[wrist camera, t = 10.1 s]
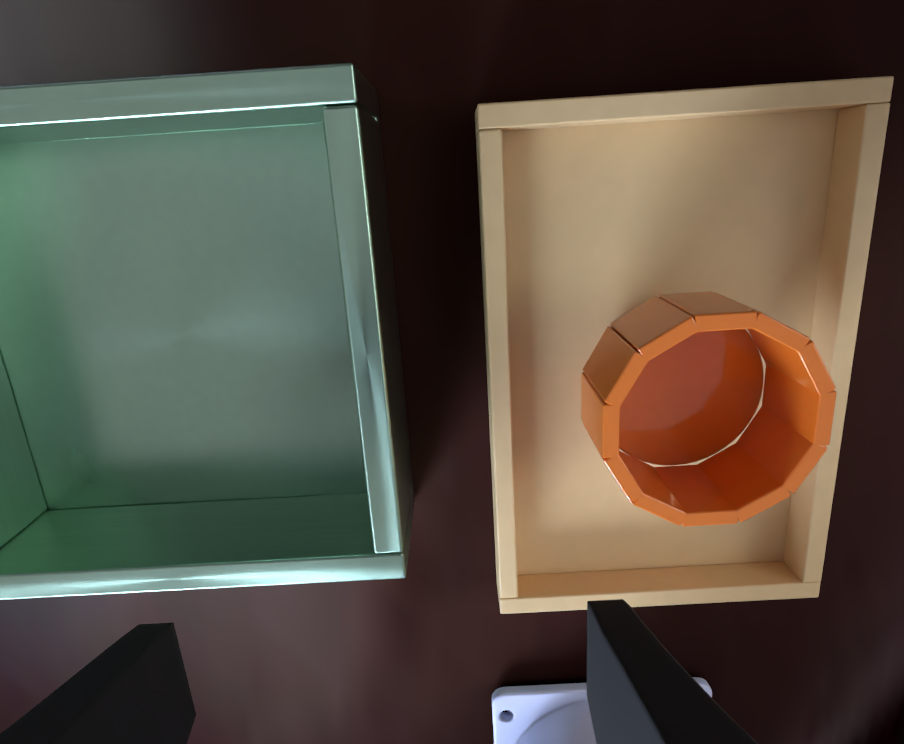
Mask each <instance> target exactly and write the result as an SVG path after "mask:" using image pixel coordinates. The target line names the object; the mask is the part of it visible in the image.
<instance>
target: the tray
mask: <svg viewBox="0 0 904 744" xmlns="http://www.w3.org/2000/svg"><path fill="white" fill-rule="evenodd" d="M893 80H894V77H893V76H881V77H867V78H852V79H837V80H822V81H807V82H793V83H778V84H763V85H748V86H733V87H719V88H704V89H689V90H674V91H660V92H645V93H630V94H615V95H600V96H586V97H571V98H556V99H541V100H526V101H512V102H497V103H482V104H478V105H477V108H476V111H475V129H476V150H477V172H478V193H479V214H480V236H481V257H482V278H483V300H484V321H485V342H486V363H487V385H488V406H489V427H490V449H491V470H492V491H493V513H494V534H495V555H496V577H497V588H498V597H499V606H500V612H501V614H509V613H528V612H547V611H566V610H585V609H587V601H597V600H617V599H623V600H624V601H626V602H627V603H628V604H629V605H630V606H631V607H643V606H662V605H681V604H700V603H719V602H739V601H758V600H777V599H796V598H815V597H818V596H819V590H820V581H821V577H822V570H823V563H824V556H825V549H826V542H827V535H828V529H829V522H830V515H831V508H832V501H833V494H834V487H835V480H836V474H837V467H838V460H839V453H840V446H841V439H842V432H843V425H844V419H845V412H846V405H847V398H848V391H849V384H850V377H851V370H852V364H853V357H854V350H855V343H856V336H857V329H858V322H859V315H860V309H861V302H862V295H863V288H864V281H865V274H866V267H867V260H868V253H869V247H870V240H871V233H872V226H873V219H874V212H875V205H876V198H877V192H878V185H879V178H880V171H881V164H882V157H883V150H884V143H885V137H886V130H887V123H888V116H889V109H890V103H888V102H889V101H890V100H891V94H892V87H893ZM708 291H710V292H713V293H714V292H715V293H718V294H720V295H723V296H725V297H727V298H730V299H732V300H734V301H737V302H739V303H741V304H744V305H746V306H748V307H751V308H753V309H756V310H758V311H760V312H762V313H764V314H766V315H768V316H770V317H772V318H774V319H776V320H777V321H779V322H781V323H783V324H785V325H787V326H789V327H791V328H793V329H794V330H796V331H798V332H800V333H802V334H804V335H806V336H808V337H809V338H810V340H812V341H813V342H814V344H815V346H816V348H817V350H818V352H819V354H820V356H821V358H822V360H823V362H824V364H825V366H826V368H827V370H828V372H829V374H830V376H831V378H832V380H833V382H834V384H835V386H836V389H835V391H836V392H837V394H836V402H835V409H834V416H833V423H832V430H831V438H830V444H829V445H825V446H826V447H827V448H828V449H827V450H826V452H825V453H824V454H823V456H822V457H821V458H820V460H819V461H818V462H817V464H816V465H815V466H814V468H813V469H812V470H811V472H810V473H809V474H808V476H807V477H806V478H805V480H804V481H803V482H802V484H801V485H800V486H799V488H798V489H797V490H796V492H795V493H791V492H790V494H791V496H790V497H788V498H787V499H785V500H783V501H781V502H779V503H777V504H775V505H773V506H772V507H770V508H768V509H766V510H764V511H762V512H760V513H758V514H756V515H755V516H753V517H751V518H749V519H747V520H745V521H743V522H739V521H738V523H737V524H723V525H705V526H687V527H684V526H682V525H680V526H678V525H676V524H674V523H672V522H669V521H667V520H665V519H663V518H661V517H659V516H656V515H654V514H652V513H650V512H648V511H646V510H643V509H641V508H639V507H637V506H635V505H633V504H632V502H630V501H629V500H628V499H627V497H626V495H625V494H624V492H623V491H622V489H621V488H620V486H619V485H618V483H617V482H616V480H615V478H614V477H613V475H612V474H611V472H610V471H609V469H608V468H607V466H606V465H605V463H604V461H603V460H602V458H601V456H600V454H599V452H598V450H597V448H596V447H595V445H594V443H593V441H592V439H591V437H590V436H589V434H588V432H587V430H586V428H585V426H584V424H583V422H582V421H583V420H582V419H581V374H582V372H584V371H583V367H584V366H585V364H586V362H587V361H588V359H589V357H590V356H591V354H592V352H593V350H594V349H595V347H596V345H597V344H598V342H599V340H600V339H601V337H602V335H603V333H604V332H605V330H606V328H607V327H608V326H610V327H611V323H612V322H614V321H615V320H617V319H619V318H620V317H622V316H623V315H625V314H627V313H628V312H630V311H632V310H633V309H635V308H636V307H638V306H640V305H641V304H643V303H645V302H646V301H648V300H649V299H651V298H653V297H654V296H657V297H658V296H659V295H660V294H676V293H692V292H708ZM746 330H747V332H748V333H749V331H748V329H746ZM749 334H750V333H749ZM750 335H751V334H750ZM751 337H752V336H751ZM759 352H760V351H759ZM760 355H761V353H760ZM761 359H762V363H763V371H764V379H765V369H766V363H765V361H764V359H763V357H762V355H761ZM763 389H764V384H763ZM762 399H763V390H762V396H761V399H760V402H759V405H758V407H757V410H756V412H755V414H754V416H755V415H756V414H757V412H758V411H759V409H760V408H761V406H762ZM754 416H753V418H754ZM753 418H752V419H753ZM752 419H751V421H752ZM751 421H750V422H751ZM750 422H749V424H750ZM749 424H748V425H749ZM748 425H747V426H748ZM746 428H747V427H746ZM746 428H745V429H746ZM745 429H744V430H743V432H744V431H745ZM743 432H742V433H741V434H740V435H739V436H738V437H737V438H736V439H735V440H734V441H733V442H731V443H730V444H729V445H728V446H726V447H725V448H724V449H726V448H728V447H729V446H731V445H733V444H735V443H736V442H737V441H738V439H739V438H740V437H741V435H742V434H743ZM724 449H722V450H724ZM722 450H720V451H722ZM619 451H621V452H623V451H622V450H620V449H619ZM720 451H719V452H720ZM719 452H717V453H719ZM623 453H624V452H623ZM717 453H716V454H717ZM625 454H626V453H625ZM627 455H628V454H627ZM714 455H715V454H714ZM711 456H713V455H711ZM711 456H709V457H707V458H705V459H702V460H699V461H697V462H693V463H688V464H683V465H697V464H699V463H701V462H702V461H704V460H706V459H708V458H710V457H711ZM642 462H643V461H642ZM644 463H646V464H649V465H651V466H653V467H663V466H680V465H657V464H651V463H647V462H644Z"/></svg>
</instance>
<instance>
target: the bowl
mask: <svg viewBox="0 0 904 744" xmlns="http://www.w3.org/2000/svg"><path fill="white" fill-rule="evenodd" d="M746 329H748V331H749V333H750V334H751V335H750V334H749V333H748V332H747V330H746ZM751 336H752V337H751ZM759 351H760V352H759ZM760 353H761V355H762V357H763V359H764V361H765V363H766V369H765V379H764V371H763V363H762V359H761V355H760ZM583 371H584V372H582V374H581V419H582V420H583V421H582V422H583V424H584V426H585V428H586V430H587V432H588V434H589V436H590V437H591V439H592V441H593V443H594V445H595V447H596V448H597V450H598V452H599V454H600V456H601V458H602V460H603V461H604V463H605V465H606V466H607V468H608V469H609V471H610V472H611V474H612V475H613V477H614V478H615V480H616V482H617V483H618V485H619V486H620V488H621V489H622V491H623V492H624V494H625V495H626V497H627V499H628V500H629V501H630V502H632V504H633V505H635V506H637V507H639V508H641V509H643V510H646V511H648V512H650V513H652V514H654V515H656V516H659V517H661V518H663V519H665V520H667V521H669V522H672V523H674V524H676V525H678V526H680V525H682V526H684V527H687V526H705V525H723V524H737V523H738V521H739V522H743V521H745V520H747V519H749V518H751V517H753V516H755V515H756V514H758V513H760V512H762V511H764V510H766V509H768V508H770V507H772V506H773V505H775V504H777V503H779V502H781V501H783V500H785V499H787V498H788V497H790V496H791V494H790V492H791V493H795V492H796V490H797V489H798V488H799V486H800V485H801V484H802V482H803V481H804V480H805V478H806V477H807V476H808V474H809V473H810V472H811V470H812V469H813V468H814V466H815V465H816V464H817V462H818V461H819V460H820V458H821V457H822V456H823V454H824V453H825V452H826V450H827V449H828V448H827V447H826V446H825V445H829V444H830V438H831V430H832V423H833V416H834V409H835V402H836V394H837V392H836V391H835V389H836V386H835V384H834V382H833V380H832V378H831V376H830V374H829V372H828V370H827V368H826V366H825V364H824V362H823V360H822V358H821V356H820V354H819V352H818V350H817V348H816V346H815V344H814V342H813V341H812V340H810V338H809V337H808V336H806V335H804V334H802V333H800V332H798V331H796V330H794V329H793V328H791V327H789V326H787V325H785V324H783V323H781V322H779V321H777V320H776V319H774V318H772V317H770V316H768V315H766V314H764V313H762V312H760V311H758V310H756V309H753V308H751V307H748V306H746V305H744V304H741V303H739V302H737V301H734V300H732V299H730V298H727V297H725V296H723V295H720V294H718V293H715V292H714V293H713V292H710V291H708V292H692V293H676V294H660V295H659V296H658V297H657V296H654V297H653V298H651V299H649V300H648V301H646V302H645V303H643V304H641V305H640V306H638V307H636V308H635V309H633V310H632V311H630V312H628V313H627V314H625V315H623V316H622V317H620V318H619V319H617V320H615V321H614V322H612V323H611V327H610V326H608V327H607V328H606V330H605V332H604V333H603V335H602V337H601V339H600V340H599V342H598V344H597V345H596V347H595V349H594V350H593V352H592V354H591V356H590V357H589V359H588V361H587V362H586V364H585V366H584V367H583ZM763 384H764V389H763ZM762 390H763V399H762V406H761V408H760V409H759V411H758V412H757V414H756V415H755V416H754V414H755V412H756V410H757V407H758V405H759V402H760V399H761V396H762ZM753 416H754V418H753ZM752 418H753V419H752ZM751 419H752V421H751ZM750 421H751V422H750ZM749 422H750V424H749ZM748 424H749V425H748ZM747 425H748V426H747ZM746 427H747V428H746ZM745 428H746V429H745ZM744 429H745V431H744V432H743V430H744ZM742 432H743V434H742V435H741V437H740V438H739V439H738V441H737V442H736V443H735V444H733V445H731V446H729V447H728V448H726V449H724V448H725V447H726V446H728V445H729V444H730V443H731V442H733V441H734V440H735V439H736V438H737V437H738V436H739V435H740V434H741V433H742ZM619 449H620V450H622V451H623V452H624V453H623V452H621V451H619ZM722 449H724V450H722ZM720 450H722V451H720ZM719 451H720V452H719ZM717 452H719V453H717ZM625 453H626V454H625ZM716 453H717V454H716ZM627 454H628V455H627ZM714 454H715V455H714ZM711 455H713V456H711ZM709 456H711V457H710V458H708V459H706V460H704V461H702V462H701V463H699V464H697V465H683V464H688V463H693V462H697V461H699V460H702V459H705V458H707V457H709ZM642 461H643V462H642ZM644 462H647V463H651V464H657V465H680V466H663V467H653V466H651V465H649V464H646V463H644Z"/></svg>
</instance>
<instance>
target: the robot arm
mask: <svg viewBox="0 0 904 744" xmlns="http://www.w3.org/2000/svg"><path fill="white" fill-rule="evenodd" d="M505 710H508V711H509V712H502V711H505ZM492 715H493V733H494V744H758V743H757V742H756V741H755V740H754V739H753V738H752V737H751V736H750V735H749V734H748V733H747V732H746V731H745V730H744V729H743V728H742V727H741V726H739V725H738V724H737V723H736V722H735V721H734V720H733V719H732V718H731V717H730V716H729V715H728V714H727V713H726V712H725V711H724V710H723V709H722V708H721V707H720V706H719V705H718V704H717V703H716V702H715V701H714V700H713V699H712V690H711V688H710V686H709V684H708V682H707V681H706V680H705V679H703V678H699V677H692V676H691V675H690V674H689V673H688V672H687V671H686V670H685V669H684V668H683V667H682V666H681V665H680V664H679V662H678V661H677V660H676V659H675V658H674V657H673V656H672V655H671V653H670V652H669V651H668V650H667V649H666V648H665V647H664V646H663V644H662V643H661V642H660V641H659V640H658V639H657V637H656V636H655V635H654V634H653V633H652V632H651V630H650V629H649V628H648V627H647V626H646V625H645V623H644V622H643V621H642V620H641V619H640V617H639V616H638V615H637V614H636V612H635V611H634V610H633V609H632V608H631V606H630V605H629V604H628V603H627V602H626V601H624V600H623V599H617V600H597V601H587V683H569V684H549V685H529V686H509V687H501V688H498V689H497V690H495V691H494V693H493V694H492ZM195 716H196V713H195V709H194V705H193V701H192V697H191V693H190V689H189V684H188V680H187V676H186V672H185V668H184V664H183V660H182V656H181V652H180V648H179V644H178V640H177V635H176V631H175V627H174V623H159V624H140V625H138V626H136V627H135V628H134V629H132V630H131V631H130V632H128V633H127V634H125V635H124V636H123V637H122V638H120V639H119V640H118V641H116V642H115V643H114V644H113V645H111V646H110V647H109V648H108V649H106V650H105V651H104V652H103V653H101V654H100V655H99V656H98V657H96V658H95V659H94V660H93V661H91V662H90V663H89V664H88V665H86V666H85V667H84V668H83V669H81V670H80V671H79V672H78V673H77V674H75V675H74V676H73V677H72V678H70V679H69V680H68V681H67V682H65V683H64V684H63V685H62V686H60V687H59V688H58V689H57V690H55V691H54V692H53V693H52V694H50V695H49V696H48V697H47V698H45V699H44V700H43V701H42V702H40V703H39V704H38V705H37V706H35V707H34V708H33V709H32V710H30V711H29V712H28V713H27V714H25V715H24V716H23V717H22V718H20V719H19V720H18V721H17V722H15V723H14V724H13V725H11V726H10V727H9V728H7V729H6V730H5V731H3V732H2V733H1V734H0V744H187V741H188V738H189V735H190V732H191V729H192V725H193V722H194V719H195Z"/></svg>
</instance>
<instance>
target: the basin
mask: <svg viewBox="0 0 904 744" xmlns="http://www.w3.org/2000/svg"><path fill="white" fill-rule="evenodd" d="M414 502H415V500H414V489H413V478H412V467H411V456H410V445H409V434H408V423H407V412H406V401H405V390H404V379H403V368H402V358H401V347H400V336H399V325H398V314H397V303H396V292H395V281H394V270H393V259H392V248H391V237H390V226H389V215H388V204H387V193H386V182H385V171H384V160H383V149H382V139H381V128H380V117H379V106H378V95H377V91H376V89H375V88H374V87H373V86H372V85H371V84H370V83H369V81H368V80H367V79H366V78H365V77H364V75H363V74H362V73H361V72H360V71H359V69H358V68H357V67H356V66H355V65H354V64H353V63H351V62H346V63H331V64H317V65H303V66H288V67H274V68H259V69H245V70H230V71H216V72H201V73H187V74H172V75H158V76H143V77H129V78H115V79H100V80H86V81H71V82H57V83H42V84H28V85H13V86H0V600H6V599H25V598H44V597H62V596H81V595H100V594H118V593H137V592H156V591H175V590H193V589H212V588H231V587H250V586H268V585H287V584H306V583H324V582H343V581H362V580H381V579H399V578H405V577H406V571H407V563H408V554H409V545H410V537H411V528H412V519H413V511H414V510H413V509H414Z"/></svg>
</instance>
